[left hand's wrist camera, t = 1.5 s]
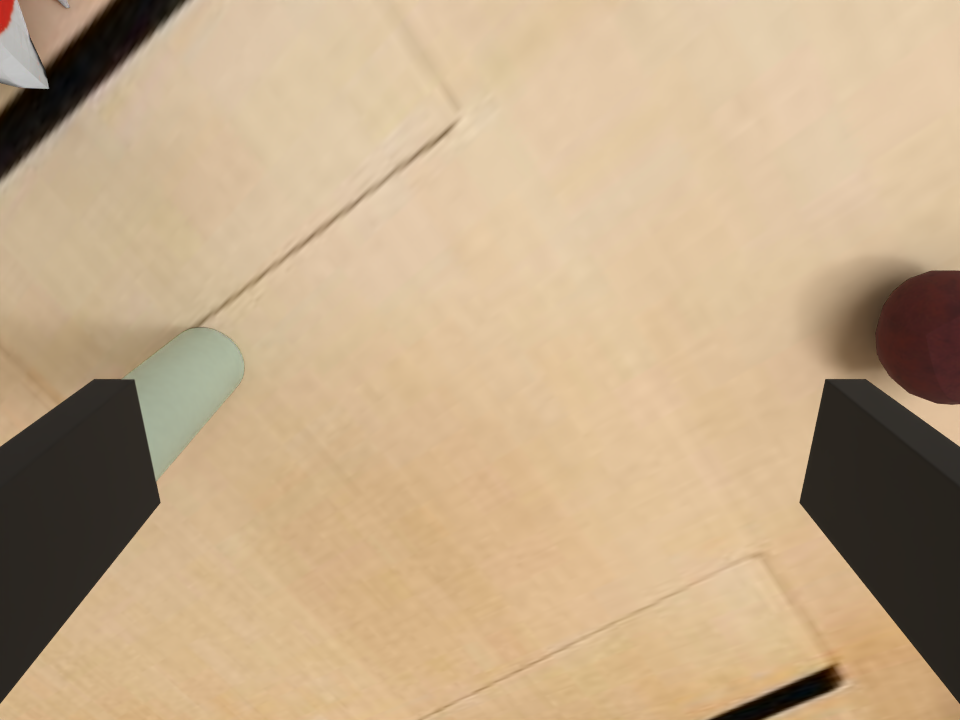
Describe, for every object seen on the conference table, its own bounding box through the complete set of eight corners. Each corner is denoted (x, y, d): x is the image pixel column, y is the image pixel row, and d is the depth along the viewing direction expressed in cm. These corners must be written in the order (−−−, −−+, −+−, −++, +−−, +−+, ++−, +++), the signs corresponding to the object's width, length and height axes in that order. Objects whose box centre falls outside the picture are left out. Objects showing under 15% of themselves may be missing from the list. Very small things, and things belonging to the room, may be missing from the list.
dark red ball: (877, 393, 43) (949, 446, 36) (831, 298, 40) (899, 336, 34) (988, 334, 41) (1084, 378, 35) (947, 232, 39) (1042, 258, 32)
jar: (192, 312, 41) (-22, 468, 24) (258, 357, 42) (101, 539, 25) (154, 367, 42) (-74, 555, 25) (219, 410, 44) (44, 618, 26)
